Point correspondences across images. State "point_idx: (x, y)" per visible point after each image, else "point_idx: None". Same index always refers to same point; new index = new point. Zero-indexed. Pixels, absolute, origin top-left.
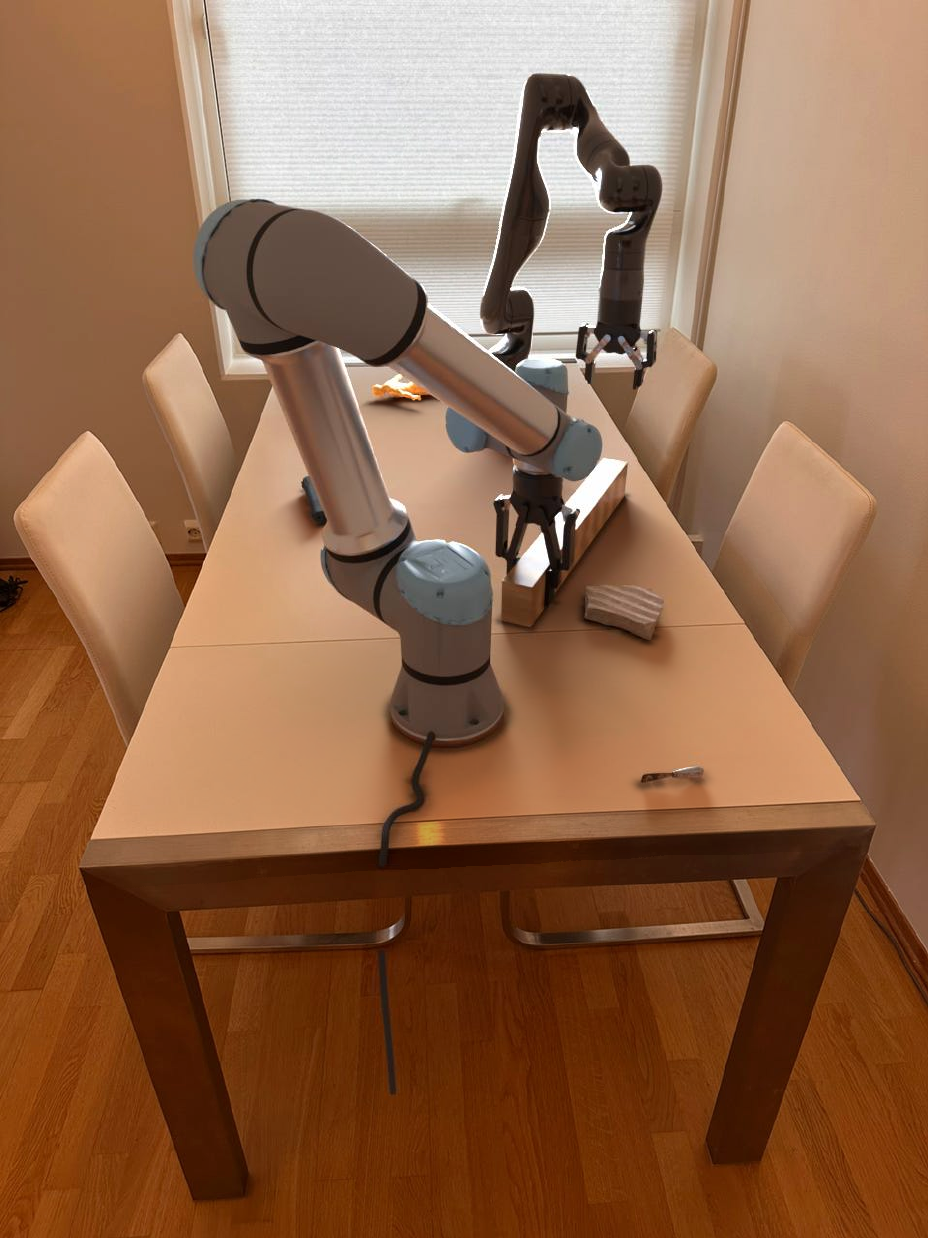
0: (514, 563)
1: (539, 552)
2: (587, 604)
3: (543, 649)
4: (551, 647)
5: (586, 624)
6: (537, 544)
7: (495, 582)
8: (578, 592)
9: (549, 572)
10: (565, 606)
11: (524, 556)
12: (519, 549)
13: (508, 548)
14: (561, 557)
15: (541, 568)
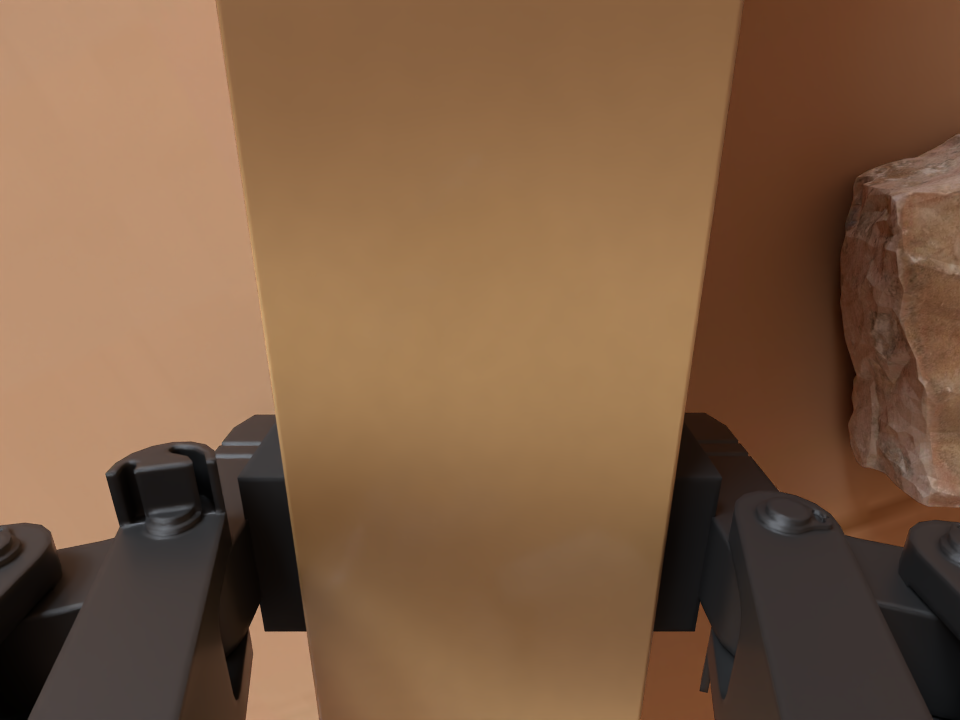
0: (277, 605)
1: (444, 321)
2: (901, 414)
3: (674, 715)
4: (706, 694)
5: (857, 472)
6: (308, 74)
7: (130, 225)
8: (759, 109)
9: (686, 630)
10: (700, 337)
11: (311, 487)
12: (214, 582)
13: (65, 610)
14: (859, 577)
15: (600, 649)
